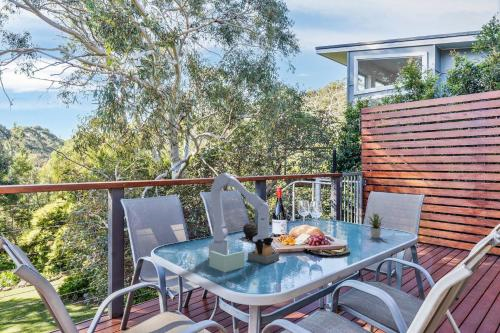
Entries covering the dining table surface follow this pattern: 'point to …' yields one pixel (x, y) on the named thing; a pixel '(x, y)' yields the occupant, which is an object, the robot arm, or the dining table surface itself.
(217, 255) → the l-shaped corner panel
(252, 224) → the pine cone
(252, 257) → the big crate
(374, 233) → the house plant
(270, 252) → the small crate
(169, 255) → the dining table surface
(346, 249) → the food plate
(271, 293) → the dining table surface
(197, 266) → the dining table surface
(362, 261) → the dining table surface
